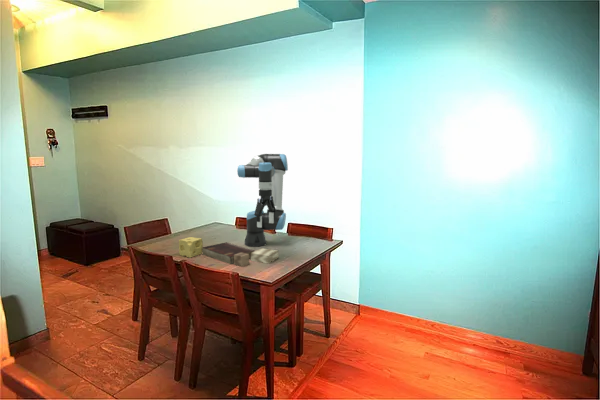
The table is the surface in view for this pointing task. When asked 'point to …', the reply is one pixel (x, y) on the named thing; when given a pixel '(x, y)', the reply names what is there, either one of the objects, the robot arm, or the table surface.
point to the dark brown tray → (225, 251)
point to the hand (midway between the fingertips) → (265, 225)
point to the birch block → (264, 255)
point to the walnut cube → (241, 259)
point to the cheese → (190, 246)
